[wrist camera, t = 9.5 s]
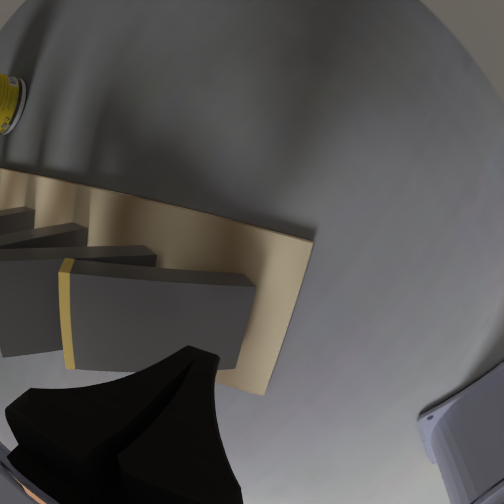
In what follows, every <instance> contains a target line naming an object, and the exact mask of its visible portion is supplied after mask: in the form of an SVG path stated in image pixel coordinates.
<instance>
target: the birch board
mask: <svg viewBox="0 0 504 504" xmlns="http://www.w3.org/2000/svg"><path fill="white" fill-rule="evenodd" d="M23 206H25V207H28V208H31V209H34V210H35V222H34V229H35V228H41V227H47V226H53V225H59V224H65V223H71V222H73V223H76V224H78V225H81V226H83V227H86V228H87V240H86V247H88V246H128V245H144V246H146V247H147V248H149V249H150V250H151V251H153V252H154V253H155V254H157V258H156V266H155V267H158V268H170V269H182V270H194V271H207V272H221V273H235V274H244V275H245V276H246V277H247V278H248V279H249V280H250V281H251V282H252V283H253V284H254V285H255V286H256V287H257V289H256V293H255V297H254V301H253V304H252V308H251V312H250V316H249V320H248V323H247V327H246V331H245V335H244V339H243V342H242V346H241V350H240V354H239V357H238V361H237V365H236V368H235V369H228V370H217V374H216V378H215V382H217V383H220V384H223V385H227V386H230V387H233V388H236V389H240V390H243V391H247V392H250V393H254V394H258V395H262V396H264V393H265V391H266V388H267V385H268V382H269V380H270V377H271V374H272V371H273V368H274V366H275V363H276V360H277V357H278V354H279V351H280V348H281V345H282V342H283V339H284V337H285V334H286V331H287V328H288V324H289V321H290V318H291V315H292V312H293V309H294V306H295V303H296V300H297V296H298V293H299V290H300V287H301V283H302V280H303V277H304V273H305V270H306V267H307V263H308V260H309V257H310V253H311V250H312V246H313V241H310V240H306V239H302V238H299V237H295V236H291V235H288V234H284V233H280V232H277V231H273V230H269V229H265V228H261V227H258V226H254V225H250V224H246V223H242V222H238V221H235V220H231V219H227V218H223V217H219V216H215V215H211V214H207V213H203V212H199V211H195V210H191V209H187V208H183V207H179V206H174V205H170V204H166V203H162V202H158V201H154V200H149V199H145V198H141V197H137V196H132V195H128V194H124V193H119V192H115V191H110V190H106V189H101V188H97V187H92V186H88V185H83V184H78V183H74V182H69V181H64V180H60V179H55V178H50V177H45V176H40V175H35V174H30V173H25V172H20V171H15V170H10V169H5V168H0V210H4V209H10V208H17V207H23Z"/></svg>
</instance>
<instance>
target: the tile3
mask: <svg viewBox="0 0 504 504" xmlns="http://www.w3.org/2000/svg"><path fill="white" fill-rule="evenodd" d="M86 240H87V228H86V227H83V226H81V225H78V224H76V223H73V222H71V223H65V224H59V225H53V226H47V227H41V228H35V229H30V230H24V231H19V232H14V233H9V234H4V235H0V249H21V248H52V247H86Z"/></svg>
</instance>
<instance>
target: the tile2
mask: <svg viewBox="0 0 504 504" xmlns="http://www.w3.org/2000/svg"><path fill="white" fill-rule="evenodd" d="M65 258H70V259H75V260H84V261H94V262H104V263H114V264H125V265H135V266H147V267H155V266H156V258H157V254H155V253H154V252H153V251H151V250H150V249H149V248H147V247H146V246H144V245H128V246H88V247H52V248H21V249H0V348H1V352H2V356H3V357H12V356H21V355H29V354H36V353H43V352H50V351H57V350H63V343H62V333H61V322H60V307H59V276H58V272H59V270H60V267H61V265H62V263H63V261H64V259H65Z"/></svg>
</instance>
